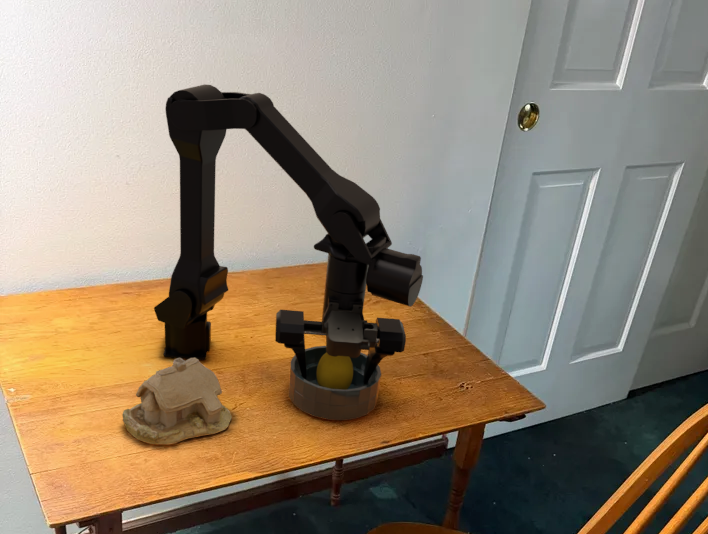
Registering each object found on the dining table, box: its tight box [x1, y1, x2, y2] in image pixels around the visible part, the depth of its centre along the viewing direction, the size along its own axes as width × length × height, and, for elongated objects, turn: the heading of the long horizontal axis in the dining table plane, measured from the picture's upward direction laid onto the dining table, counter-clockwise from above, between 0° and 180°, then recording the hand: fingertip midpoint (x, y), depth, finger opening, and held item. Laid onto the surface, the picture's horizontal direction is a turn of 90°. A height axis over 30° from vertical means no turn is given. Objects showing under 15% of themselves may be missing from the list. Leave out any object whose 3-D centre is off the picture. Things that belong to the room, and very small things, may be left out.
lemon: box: [317, 352, 353, 390], centre depth 119 cm, size 6×6×8 cm
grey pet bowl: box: [288, 345, 382, 421], centre depth 120 cm, size 14×14×6 cm
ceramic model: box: [121, 357, 232, 445], centre depth 107 cm, size 14×11×10 cm
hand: (334, 381), depth 120 cm, fingers open, 9 cm apart
